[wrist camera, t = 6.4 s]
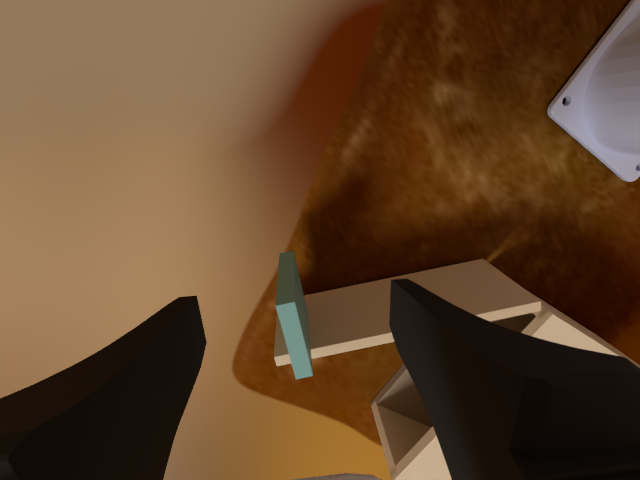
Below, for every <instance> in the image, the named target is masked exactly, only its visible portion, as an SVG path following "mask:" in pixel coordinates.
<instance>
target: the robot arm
mask: <svg viewBox="0 0 640 480" xmlns="http://www.w3.org/2000/svg"><path fill="white" fill-rule="evenodd" d="M564 97H565V98H566V102H565V104H564V105H563V104H562V101H563V99H564ZM547 112H548V115H549V117H550V118H551V119H553V120H554V121H555V122H556V123H557V124H558V125H559V126H561V127H562V128H563V129H564V130H565V131H566V132H568V133H569V134H570V135H571V136H572V137H573V138H575V139H576V140H577V141H578V142H579V143H580V144H581V145H583V146H584V147H585V148H586V149H587V150H588V151H590V152H591V153H592V154H593V155H594V156H595V157H597V158H598V159H599V160H600V161H601V162H602V163H603V164H605V165H606V166H607V167H608V168H609V169H610V170H612V171H613V172H614V173H615V174H616V175H617V176H618V177H620V178H621V179H622V180H624V181H628V182H632V181H635V180H636V179H637V178H638V177H639V176H640V0H631V1H630V2H629V4H628V5H627V6H626V7H625V9H624V10H623V11H622V13H621V14H620V15H619V16H618V18H617V19H616V20H615V22H614V23H613V24H612V25H611V27H610V28H609V29H608V30H607V32H606V33H605V34H604V36H603V37H602V38H601V39H600V41H599V42H598V43H597V45H596V46H595V47H594V48H593V50H592V51H591V52H590V54H589V55H588V56H587V57H586V59H585V60H584V61H583V62H582V64H581V65H580V66H579V68H578V69H577V70H576V71H575V73H574V74H573V75H572V77H571V78H570V79H569V80H568V82H567V83H566V84H565V86H564V87H563V88H562V89H561V91H560V92H559V93H558V94H557V96H556V97H555V98H554V100H553V101H552V102H551V103H550V105H549V107H548V110H547ZM637 165H638V167H637ZM636 167H637V168H636ZM389 326H390V329H391V332H392V335H393V339H394V341H395V344H396V347H397V350H398V352H399V354H400V356H401V358H402V360H403V362H404V364H405V366H406V368H407V370H408V372H409V374H410V376H411V378H412V380H413V382H414V384H415V386H416V388H417V390H418V392H419V394H420V396H421V398H422V401H423V403H424V405H425V407H426V410H427V412H428V414H429V417H430V420H431V422H432V425H433V428H434V431H435V433H436V436H437V439H438V441H439V444H440V447H441V450H442V453H443V456H444V458H445V461H446V464H447V467H448V470H449V473H450V476H451V479H452V480H640V368H639V367H638V366H636V365H635V364H634V363H632V362H631V361H630V360H628V359H627V358H625V357H621V356H616V355H611V354H605V353H600V352H595V351H589V350H584V349H579V348H574V347H570V346H566V345H562V344H558V343H554V342H550V341H546V340H543V339H539V338H536V337H532V336H529V335H526V334H523V333H520V332H517V331H514V330H511V329H508V328H505V327H503V326H500V325H497V324H495V323H493V322H490V321H488V320H485V319H483V318H480V317H478V316H476V315H474V314H472V313H470V312H468V311H465V310H463V309H461V308H459V307H457V306H456V305H454V304H452V303H450V302H448V301H446V300H444V299H443V298H441V297H439V296H437V295H436V294H434V293H432V292H430V291H429V290H427V289H425V288H424V287H422V286H420V285H418V284H417V283H415V282H413V281H411V280H409V279H407V278H406V279H394V280H391V291H390V320H389ZM205 346H206V338H205V334H204V328H203V324H202V319H201V314H200V310H199V305H198V301H197V296H188V297H179V298H177V299H176V300H174V301H172V302H171V303H169V304H168V305H167V306H165V307H164V308H162V309H161V310H160V311H158V312H157V313H156V314H154V315H153V316H151V317H150V318H148V319H147V320H146V321H144V322H143V323H141V324H140V325H139V326H137V327H136V328H134V329H133V330H131V331H130V332H128V333H127V334H125V335H124V336H122V337H121V338H119V339H118V340H116V341H115V342H113V343H111V344H110V345H108V346H107V347H105V348H103V349H102V350H100V351H98V352H97V353H95V354H93V355H91V356H89V357H88V358H86V359H84V360H82V361H81V362H79V363H77V364H75V365H73V366H71V367H69V368H67V369H65V370H63V371H61V372H59V373H57V374H55V375H53V376H50V377H48V378H46V379H45V380H42V381H40V382H38V383H36V384H34V385H31V386H29V387H27V388H24V389H22V390H20V391H17V392H15V393H13V394H10V395H8V396H5V397H3V398H1V399H0V480H163V478H164V474H165V469H166V466H167V462H168V459H169V455H170V451H171V448H172V444H173V440H174V437H175V434H176V431H177V428H178V425H179V423H180V420H181V418H182V415H183V412H184V410H185V407H186V404H187V402H188V399H189V397H190V394H191V392H192V389H193V386H194V384H195V381H196V378H197V376H198V373H199V370H200V368H201V364H202V359H203V356H204V350H205ZM293 480H381V479H379V478H377V477H376V476H373V475H365V474H350V473H344V474H336V475H327V476H319V477H311V478H302V479H293Z"/></svg>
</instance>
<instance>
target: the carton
mask: <svg viewBox="0 0 640 480" xmlns="http://www.w3.org/2000/svg"><path fill="white" fill-rule="evenodd" d="M525 290H526V289H525ZM528 292H529V291H528ZM529 293H530V292H529ZM531 294H532V293H531ZM532 295H533V296H535V295H534V294H532ZM535 297H536V298H538V297H537V296H535ZM538 299H539V300H540V301H541V311H538V312H533V313H528V314H524V315H519V316H514V317H509V318H505V319H500V320H495V321H490V322H493V323H495V324H497V325H500V326H503V327H505V328H508V329H511V330H514V331H517V332H520V333H523V334H526V335H529V336H532V337H536V338H539V339H543V340H546V341H550V342H554V343H558V344H562V345H566V346H570V347H574V348H579V349H584V350H589V351H595V352H600V353H605V354H611V355H616V356H621V357H625V358H627V359H628V360H630V361H631V362H632V363H634V364H635V365H636V366H638V367H639V368H640V365H638V364H637V363H636V362H634V361H633V360H631V359H630V358H629V357H627V356H626V355H624V354H623V353H622V352H620V351H619V350H617V349H616V348H614V347H613V346H612V345H610V344H609V343H607V342H606V341H605V340H603V339H602V338H600V337H599V336H598V335H596V334H595V333H593V332H592V331H590V330H588V329H587V328H585V327H584V326H582V325H581V324H579V323H577V322H576V321H574V320H573V319H571V318H570V317H568V316H566V315H565V314H563V313H562V312H560V311H559V310H557V309H556V308H554V307H552V306H551V305H549V304H548V303H546V302H545V301H543V300H541V299H540V298H538ZM370 404H371V407H372V411H373V414H374V418H375V422H376V425H377V429H378V432H379V436H380V439H381V443H382V447H383V450H384V453H385V457H386V461H387V464H388V468H389V471H390V475H391V479H392V480H452V479H451V476H450V473H449V470H448V467H447V464H446V461H445V458H444V456H443V453H442V450H441V447H440V444H439V441H438V439H437V436H436V433H435V431H434V428H433V425H432V422H431V420H430V417H429V414H428V412H427V410H426V407H425V405H424V403H423V401H422V398H421V396H420V394H419V392H418V390H417V388H416V386H415V384H414V382H413V380H412V378H411V376H410V374H409V372H408V370H407V368H406V366H405V364H403V365H402V366H401V367H400V368H399V370H398V371H397V372H396V373H395V374H394V375H393V377H392V378H391V379H390V380H389V381H388V383H387V384H386V385H385V386H384V387H383V388H382V390H381V391H380V392H379V393H378V394H377V396H376V397H375V398H374V399H373V400H372V402H371V403H370Z"/></svg>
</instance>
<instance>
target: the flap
mask: <svg viewBox="0 0 640 480" xmlns="http://www.w3.org/2000/svg"><path fill="white" fill-rule="evenodd" d="M406 278H407V279H409V280H411V281H413V282H415V283H417V284H418V285H420V286H422V287H424V288H425V289H427V290H429V291H430V292H432V293H434V294H436V295H437V296H439V297H441V298H443V299H444V300H446V301H448V302H450V303H452V304H454V305H456V306H457V307H459V308H461V309H463V310H465V311H468V312H470V313H472V314H474V315H476V316H478V317H480V318H483V319H485V320H488V321H495V320H500V319H505V318H509V317H514V316H519V315H524V314H528V313H533V312H538V311H541V301H540V300H539V299H538V298H536V297H535V296H533V295H532V294H531V293H529V292H528V291H527V290H525V289H524V288H523V287H521V286H520V285H518V284H517V283H516V282H514V281H513V280H512V279H510V278H509V277H508V276H506V275H505V274H503V273H502V272H501V271H499V270H498V269H497V268H495V267H494V266H493V265H491V264H490V263H489V262H487V261H486V260H484V259H479V260H474V261H469V262H464V263H459V264H454V265H450V266H445V267H440V268H435V269H430V270H425V271H421V272H416V273H411V274H406V275H401V276H396V277H392V278H387V279H382V280H377V281H372V282H367V283H362V284H358V285H353V286H348V287H343V288H338V289H333V290H329V291H324V292H319V293H314V294H309V295H304V294H303V289H302V285H301V281H300V276H299V272H298V268H297V264H296V259H295V255H294V251H290V252H285V253H280V256H279V269H278V282H277V295H276V309H277V322H276V337H275V352H274V358H275V362H276V365H277V366H281V365H285V364H290V363H292V367H293V371H294V374H295V378H296V379H300V378H305V377H310V376H313V369H312V359H314V358H319V357H323V356H328V355H333V354H338V353H343V352H347V351H352V350H357V349H362V348H366V347H371V346H376V345H381V344H385V343H390V342H395V341H394V339H393V335H392V332H391V329H390V326H389V320H390V291H391V280H394V279H406Z"/></svg>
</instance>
